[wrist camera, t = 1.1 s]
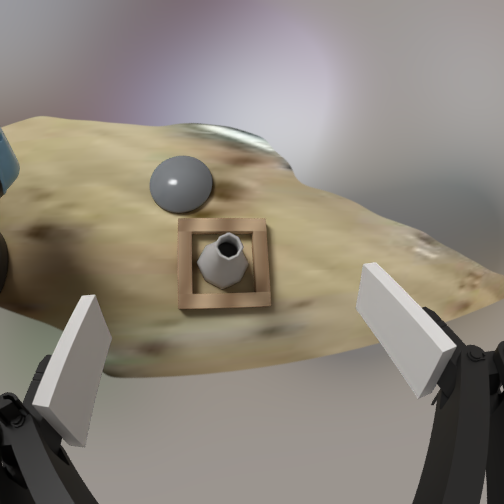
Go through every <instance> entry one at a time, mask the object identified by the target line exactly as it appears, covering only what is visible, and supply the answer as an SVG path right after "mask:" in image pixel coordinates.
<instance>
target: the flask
mask: <svg viewBox="0 0 504 504" xmlns="http://www.w3.org/2000/svg"><path fill="white" fill-rule="evenodd" d="M243 248H244V247H243V245H242V243H241V241H240V239H239V237H237V236H235V235H233V234H232V233H230V232H229V233H226V234H224V235H222V236H219V238H218V240H217V241H215V242H213V243H211V244H209V245H206V246H205V248H204V250H203V252H202V254H201V255H200V257H199V259H198V261H197V265H198V267H199V269H200V271H201V273H202V275H203V277H204V280H205V281H207V282H209V283H211V284H213V285H215V286H217V287H218V288H220V289H222V290H223V289H225V288H227V287H229V286H231V285H233V284H235V283H238V282H240V281H241V279H242V277H243V275H244V273H245V271H246V269H247V267H248V265H249V263H248V261H247V259H246V257H245V255H244V253H243V251H242V249H243Z"/></svg>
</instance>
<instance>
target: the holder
mask: <svg viewBox="0 0 504 504" xmlns="http://www.w3.org/2000/svg"><path fill="white" fill-rule="evenodd" d="M229 232H230V233H232V234H251V236H252V254H253V272H254V290H255V292H250V293H217V294H193V291H192V234H226V233H229ZM265 306H271V293H270V278H269V262H268V247H267V233H266V219H265V218H180V219H178V309H213V308H243V307H265Z"/></svg>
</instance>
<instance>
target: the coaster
mask: <svg viewBox="0 0 504 504" xmlns="http://www.w3.org/2000/svg"><path fill="white" fill-rule="evenodd" d="M211 189H212V176H211V173H210V171H209V169H208V168H207V166H206V165H205V164H204V163H203V162H201V161H200V160H198V159H196V158H193V157H190V156H176V157H172V158H169V159H167V160H165V161H163V162H162V163H161V164H160V165H159V166H158V167H157V168H156V169H155V170H154V172H153V174H152V176H151V179H150V191H151V195H152V197H153V199H154V201H155V202H156V203H157V204H158V205H159V206H160V207H161V208H163V209H164V210H167V211H169V212H173V213H186V212H190V211H193V210H195V209H197V208H198V207H200V206H201V205H202V204H203V203H204V202H205V201H206V200H207V199H208V197H209V195H210V193H211Z"/></svg>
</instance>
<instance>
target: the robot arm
mask: <svg viewBox="0 0 504 504" xmlns="http://www.w3.org/2000/svg"><path fill="white" fill-rule="evenodd" d="M19 171H20V166H19V162H18V160H17V158H16V156H15V154H14V152H13V150H12V148H11V146H10V144H9V142H8V140H7V138H6V137H5V135H4V133H3V131H2V129H1V127H0V198H1V197H2V196H3V195H4V194H5V193H6V190H7V189H8V188H9V187H10V186H11V184H12V183H13V182H14V181H15V180H16V178H17V177H18V174H19ZM7 268H8V253H7V247H6V243H5V240H4V238H3V236H2V234H1V233H0V292H1V290H2V288H3V285H4V282H5V279H6V274H7ZM356 309H357V311H358V312H359V314H360V315H361V316H362V318H363V319H364V321H365V322H366V323H367V325H368V326H369V328H370V329H371V330H372V332H373V333H374V335H375V336H376V337H377V339H378V340H379V342H380V343H381V345H382V346H383V347H384V349H385V350H386V352H387V353H388V355H389V356H390V358H391V359H392V360H393V362H394V363H395V365H396V366H397V368H398V369H399V371H400V372H401V374H402V375H403V377H404V378H405V380H406V381H407V383H408V384H409V386H410V387H411V389H412V390H413V392H414V394H415V395H416V397H417V398H418V399H419V398H421V397H423V396H426V395H428V394H430V393H432V391H433V389H434V388H435V386H436V384H438V386H439V387H440V390H439V392H438V393H437V395H436V397H435V398H434V400H433V401H432V404H431V405H434V404H435V402H436V400H437V404H436V412H435V418H434V423H433V429H432V433H431V438H430V443H429V447H428V452H427V456H426V460H425V464H424V468H423V472H422V475H421V479H420V482H419V485H418V489H417V491H416V494H415V498H414V500H413V503H412V504H480V499H481V494H482V489H483V484H484V477H485V470H486V479H487V504H504V391H503V392H502V393H501V391H500V387H501V386H502V385H503V389H504V341H502V342H501V343H500V344H499V345H498V347H497V348H496V350H495V351H490V352H484V351H483V350H482V349H481V348H479V347H477V346H475V345H467V346H466V345H465V344H464V343H463V342H462V341H461V340H460V338H459V337H458V336H457V335H456V334H455V333H454V332H453V331H452V330H451V329H450V328H449V327H448V326H447V324H446V323H445V322H444V321H443V320H441V318H440V317H439V316H438V315H437V314H436V313H435V312H434V311H432V310H430V309H428V308H427V307H423V308H421V307H420V306H419V305H418V304H417V303H416V302H415V301H414V300H413V298H412V297H411V296H410V295H409V294H408V293H407V292H406V291H405V290H404V289H403V288H402V287H401V286H400V285H399V284H398V283H397V282H396V281H395V280H394V279H393V278H392V277H391V276H389V275H388V274H387V273H386V272H385V271H384V270H383V269H382V268H381V267H380V266H379V265H378V264H377V263H376V262H374V263H367V264H363V268H362V274H361V281H360V287H359V293H358V298H357V304H356ZM111 340H112V337H111V334H110V332H109V329H108V327H107V324H106V322H105V319H104V317H103V314H102V312H101V309H100V306H99V304H98V301H97V298H96V295H84V296H82V297H81V298H80V300H79V302H78V304H77V306H76V308H75V310H74V311H73V313H72V315H71V317H70V319H69V321H68V323H67V325H66V327H65V329H64V331H63V333H62V335H61V337H60V339H59V341H58V344H57V346H56V348H55V350H54V352H53V354H52V355H46V357H44V359H43V360H42V361H41V362H40V363H39V365H38V368H37V370H36V374H34V377H33V381H31V384H30V386H29V389H28V391H27V394H26V396H25V398H24V401H23V404H22V402H21V401H20V400H19V399H18V397H17V396H16V395H15V394H13V393H8V392H7V393H4V394H2V395H0V504H98V502H97V501H96V499H95V498H94V497H93V495H92V494H91V492H90V491H89V489H88V488H87V486H86V485H85V483H84V482H83V480H82V479H81V477H80V476H79V474H78V472H77V470H76V469H75V467H74V465H73V464H72V462H71V460H70V459H69V457H68V455H67V453H66V451H65V450H64V448H63V447H62V446H61V445H60V444H61V440H62V438H63V439H64V440H65V441H66V442H67V443H68V444H69V445H71V446H78V447H85V445H86V440H87V435H88V430H89V425H90V420H91V415H92V411H93V406H94V402H95V398H96V394H97V390H98V386H99V382H100V378H101V375H102V371H103V367H104V364H105V360H106V357H107V353H108V350H109V347H110V343H111ZM2 463H3V466H2Z"/></svg>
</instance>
